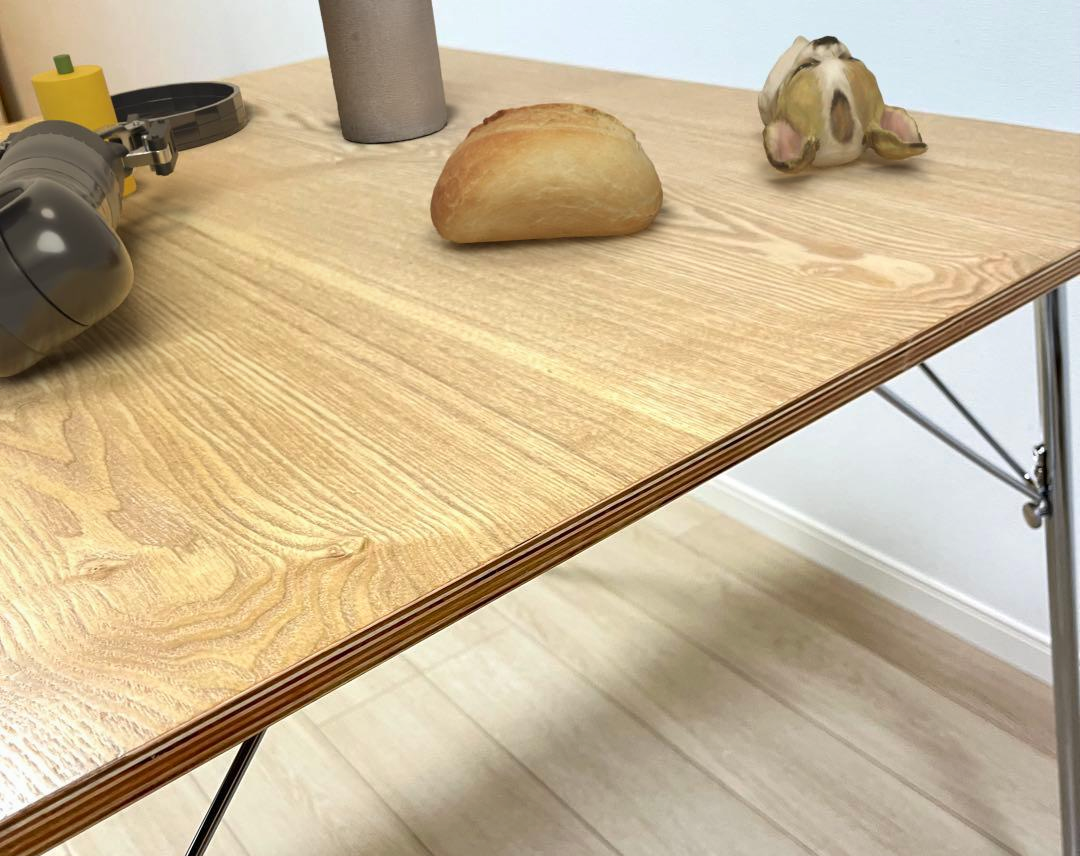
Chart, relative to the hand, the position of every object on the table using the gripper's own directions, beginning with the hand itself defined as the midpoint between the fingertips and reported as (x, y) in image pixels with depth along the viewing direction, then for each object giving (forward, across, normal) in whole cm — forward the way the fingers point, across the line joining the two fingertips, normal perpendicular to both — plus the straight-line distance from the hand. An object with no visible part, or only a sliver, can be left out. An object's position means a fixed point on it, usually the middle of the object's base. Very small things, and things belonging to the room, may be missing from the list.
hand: (79, 136), depth 86 cm
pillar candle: (+12, -25, +6) cm, 28 cm away
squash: (+3, 0, +6) cm, 7 cm away
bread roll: (-23, -30, +6) cm, 38 cm away
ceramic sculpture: (-18, -52, +6) cm, 55 cm away
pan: (+25, -4, +6) cm, 26 cm away
